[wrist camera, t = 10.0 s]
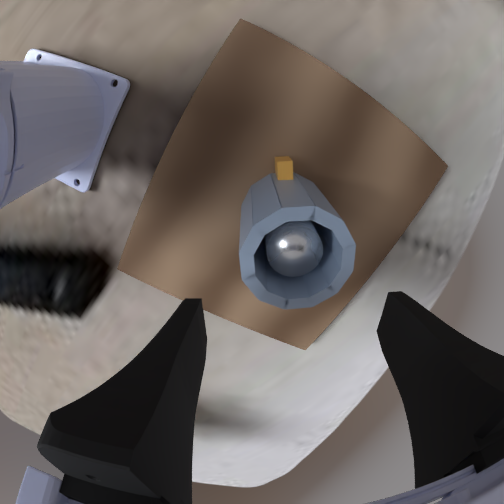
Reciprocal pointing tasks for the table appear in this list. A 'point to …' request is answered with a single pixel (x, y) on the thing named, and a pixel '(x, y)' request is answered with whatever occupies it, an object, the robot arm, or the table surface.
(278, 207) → the collar
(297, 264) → the silver metal canister
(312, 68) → the walnut board
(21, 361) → the table surface
